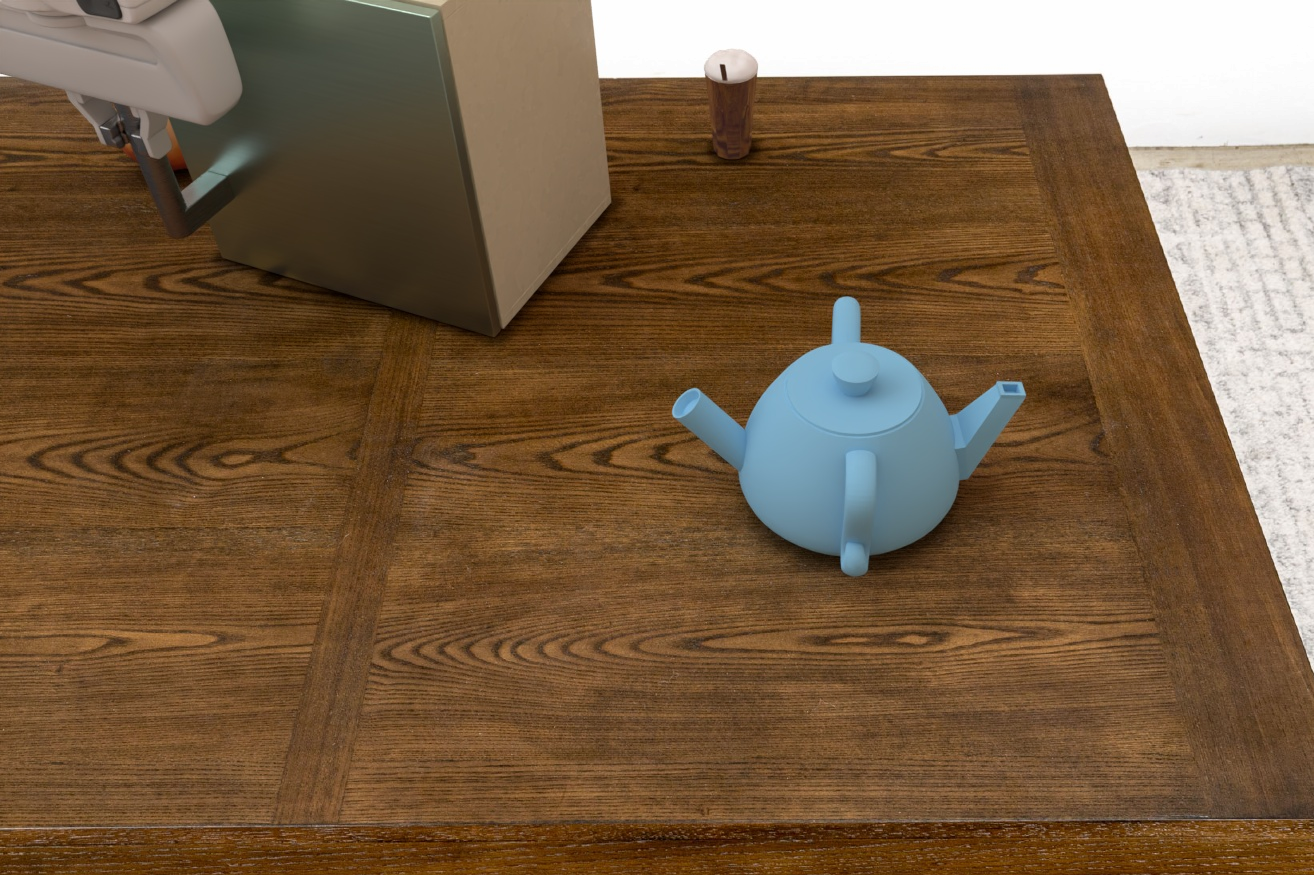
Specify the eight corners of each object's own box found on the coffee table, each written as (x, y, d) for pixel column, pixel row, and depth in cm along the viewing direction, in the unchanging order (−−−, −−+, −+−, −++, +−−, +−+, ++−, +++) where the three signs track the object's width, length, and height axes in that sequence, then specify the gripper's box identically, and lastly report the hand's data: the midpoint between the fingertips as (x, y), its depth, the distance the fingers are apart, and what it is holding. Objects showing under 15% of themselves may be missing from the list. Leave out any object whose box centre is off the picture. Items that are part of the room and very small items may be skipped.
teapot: (809, 370, 93) (815, 246, 85) (1013, 481, 85) (1040, 355, 77) (669, 490, 85) (659, 366, 77) (878, 623, 77) (892, 501, 69)
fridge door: (452, 387, 92) (373, 63, 74) (172, 301, 100) (36, -13, 81) (501, 330, 97) (439, 9, 78) (229, 251, 104) (113, -58, 86)
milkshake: (699, 166, 111) (695, 61, 104) (713, 133, 115) (710, 29, 108) (749, 172, 111) (749, 66, 103) (762, 139, 114) (763, 35, 107)
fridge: (503, 329, 97) (441, 5, 78) (232, 250, 105) (114, -62, 86) (611, 202, 108) (580, -109, 89) (359, 139, 116) (280, -159, 97)
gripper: (-104, -52, 80) (-7, 140, 90) (149, 4, 74) (223, 203, 84) (-27, -92, 84) (58, 97, 94) (220, -42, 78) (282, 154, 88)
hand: (138, 148), depth 89 cm, fingers closed on fridge door, 2 cm apart
